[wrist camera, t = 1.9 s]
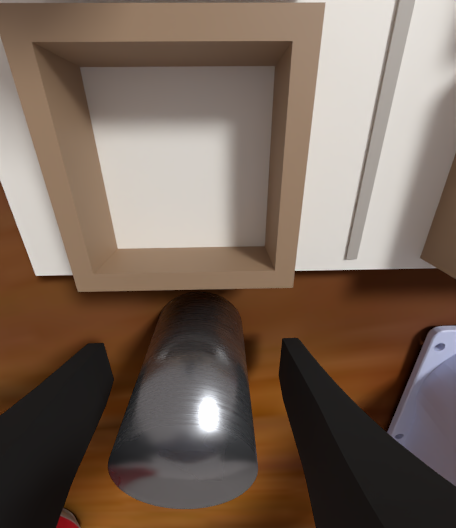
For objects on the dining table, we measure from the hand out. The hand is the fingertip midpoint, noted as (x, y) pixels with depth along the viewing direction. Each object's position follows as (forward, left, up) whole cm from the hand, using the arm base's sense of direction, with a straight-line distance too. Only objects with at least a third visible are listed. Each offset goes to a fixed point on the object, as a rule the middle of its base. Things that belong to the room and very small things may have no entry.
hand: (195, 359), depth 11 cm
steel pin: (0, 0, -2) cm, 2 cm away
